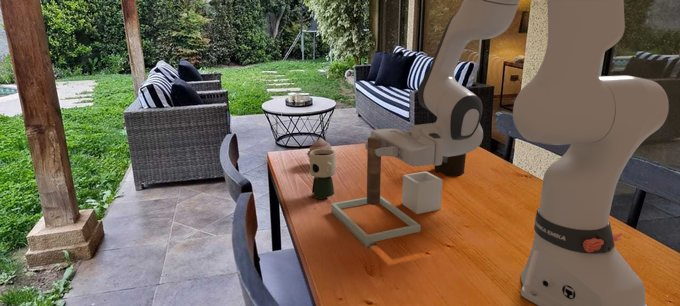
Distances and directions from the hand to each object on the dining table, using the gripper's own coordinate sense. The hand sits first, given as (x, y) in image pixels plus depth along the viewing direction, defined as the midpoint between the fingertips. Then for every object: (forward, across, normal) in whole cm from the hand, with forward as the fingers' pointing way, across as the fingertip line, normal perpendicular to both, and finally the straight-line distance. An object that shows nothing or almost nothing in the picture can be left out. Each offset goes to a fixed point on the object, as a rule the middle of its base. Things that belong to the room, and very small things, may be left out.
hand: (371, 149), depth 105 cm
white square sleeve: (-16, -2, +19) cm, 25 cm away
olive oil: (-41, -24, +20) cm, 51 cm away
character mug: (+4, -21, +19) cm, 29 cm away
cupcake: (-5, -46, +20) cm, 50 cm away
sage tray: (-1, 0, +19) cm, 19 cm away
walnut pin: (-1, 0, +14) cm, 14 cm away
